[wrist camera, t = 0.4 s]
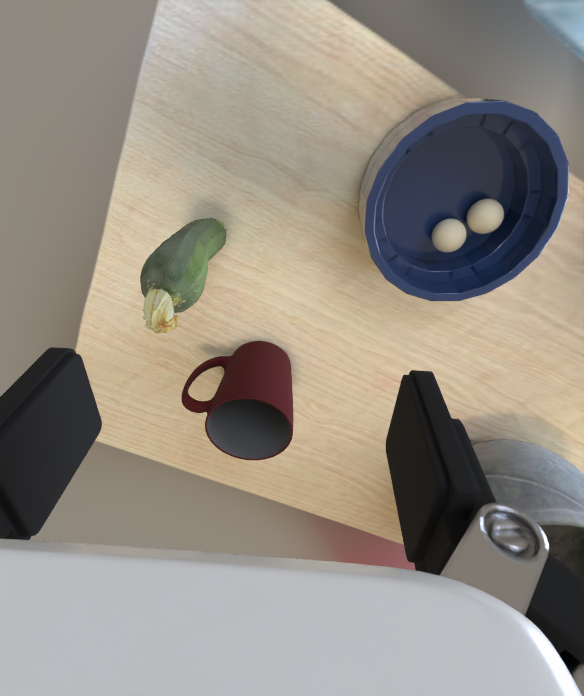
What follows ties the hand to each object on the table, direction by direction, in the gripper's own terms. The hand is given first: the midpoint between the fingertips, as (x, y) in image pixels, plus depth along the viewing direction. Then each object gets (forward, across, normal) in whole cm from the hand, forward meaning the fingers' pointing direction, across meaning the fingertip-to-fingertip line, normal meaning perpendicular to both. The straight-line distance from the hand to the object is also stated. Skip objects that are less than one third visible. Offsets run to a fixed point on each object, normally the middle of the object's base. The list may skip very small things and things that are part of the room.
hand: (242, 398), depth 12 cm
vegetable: (+31, +8, +4) cm, 32 cm away
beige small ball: (+28, -18, +2) cm, 33 cm away
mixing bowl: (+30, -14, +1) cm, 33 cm away
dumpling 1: (+28, -15, +4) cm, 32 cm away
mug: (+31, +4, +21) cm, 37 cm away
